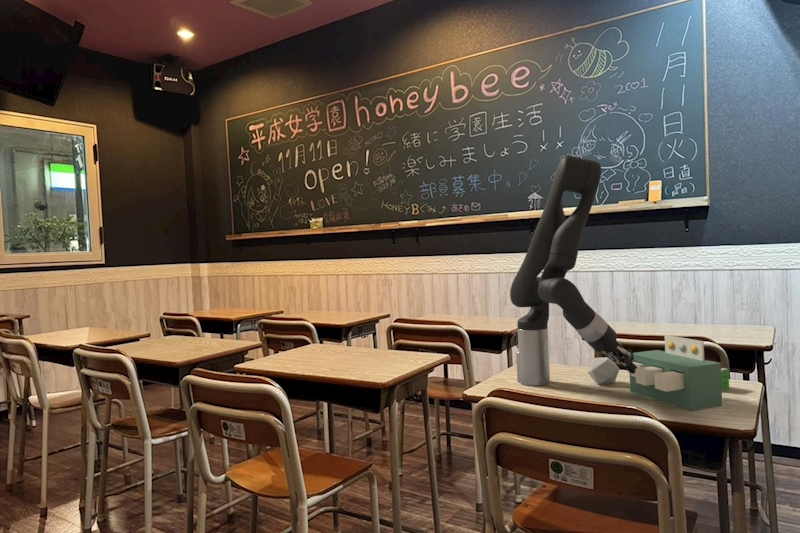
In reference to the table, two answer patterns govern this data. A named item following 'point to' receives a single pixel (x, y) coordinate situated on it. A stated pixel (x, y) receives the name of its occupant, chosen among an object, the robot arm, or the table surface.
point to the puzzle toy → (725, 378)
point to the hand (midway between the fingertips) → (633, 370)
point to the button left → (638, 366)
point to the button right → (669, 381)
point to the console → (698, 374)
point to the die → (603, 371)
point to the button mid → (647, 375)
